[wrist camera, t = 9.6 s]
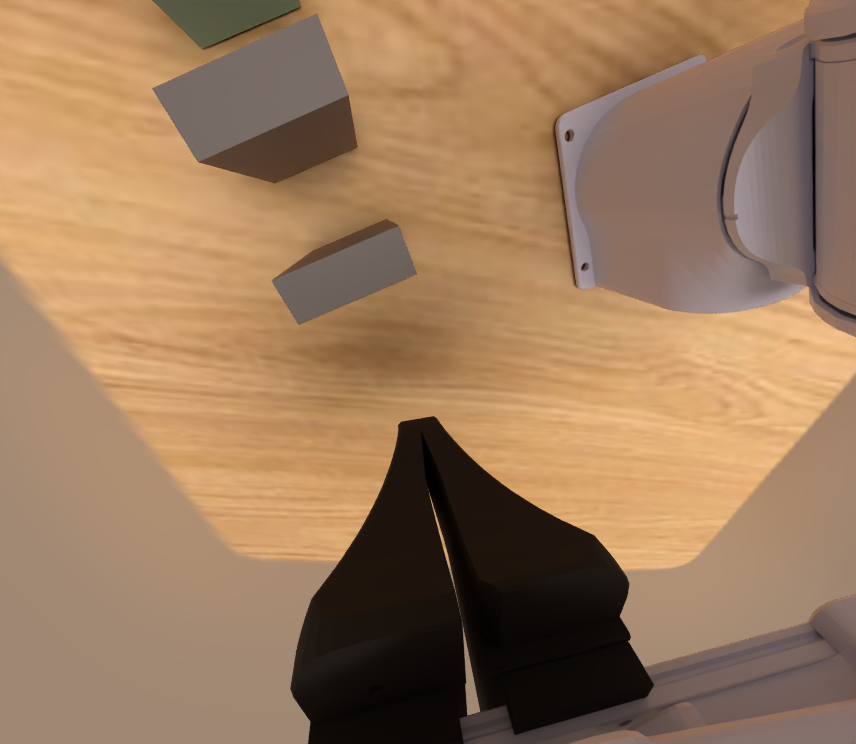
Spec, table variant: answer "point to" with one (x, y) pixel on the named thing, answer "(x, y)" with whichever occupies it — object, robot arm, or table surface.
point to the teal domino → (222, 16)
